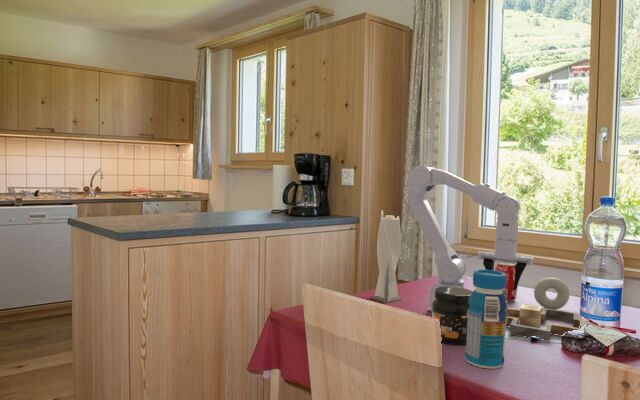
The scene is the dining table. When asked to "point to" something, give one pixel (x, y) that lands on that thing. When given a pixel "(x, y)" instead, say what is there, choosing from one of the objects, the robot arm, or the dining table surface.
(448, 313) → the supplement container
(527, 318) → the block
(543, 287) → the donut
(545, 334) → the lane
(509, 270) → the soda can
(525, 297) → the dining table surface
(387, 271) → the skyscraper
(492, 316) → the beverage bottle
